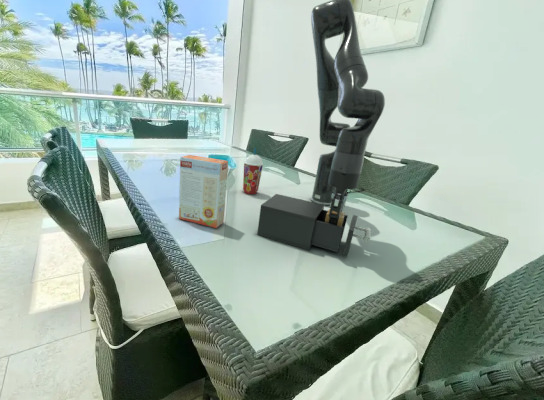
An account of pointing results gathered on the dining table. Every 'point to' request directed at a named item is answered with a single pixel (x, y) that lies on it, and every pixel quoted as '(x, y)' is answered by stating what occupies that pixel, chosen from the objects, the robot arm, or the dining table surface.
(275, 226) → the cabinet
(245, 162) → the smoothie
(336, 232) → the drawer
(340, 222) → the block
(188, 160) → the cracker box
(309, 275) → the dining table surface
